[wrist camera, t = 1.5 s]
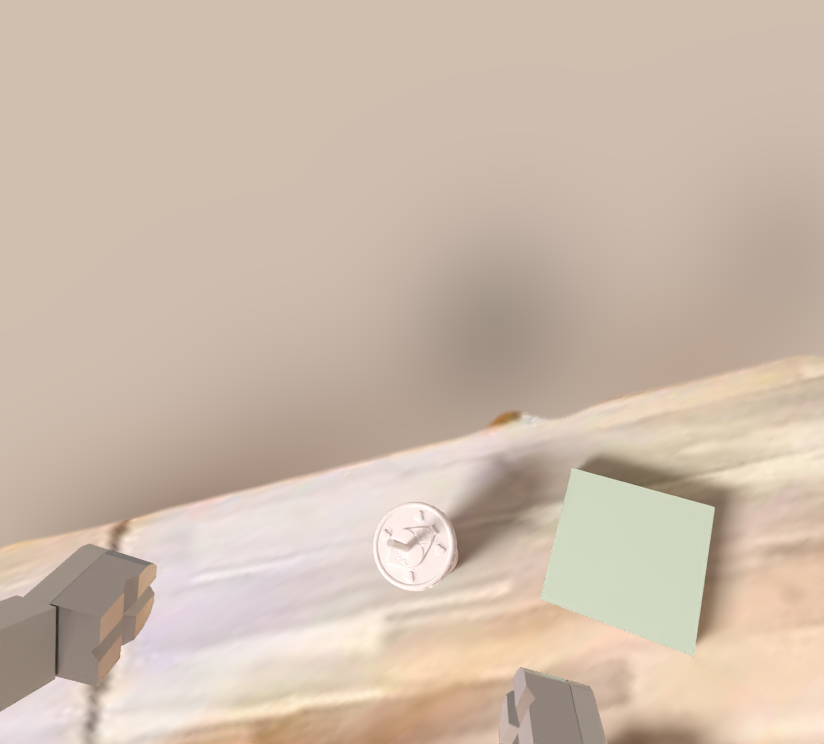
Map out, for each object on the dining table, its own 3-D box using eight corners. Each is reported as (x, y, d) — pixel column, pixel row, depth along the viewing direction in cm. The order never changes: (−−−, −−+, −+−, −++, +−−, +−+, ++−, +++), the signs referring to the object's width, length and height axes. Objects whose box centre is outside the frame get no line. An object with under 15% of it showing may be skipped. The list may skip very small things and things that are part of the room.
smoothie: (392, 544, 47) (336, 524, 35) (447, 505, 47) (411, 471, 35) (428, 608, 44) (381, 610, 32) (487, 565, 44) (463, 551, 32)
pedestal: (704, 513, 42) (714, 507, 39) (684, 652, 38) (693, 656, 36) (570, 475, 46) (571, 467, 43) (540, 599, 42) (540, 599, 40)
